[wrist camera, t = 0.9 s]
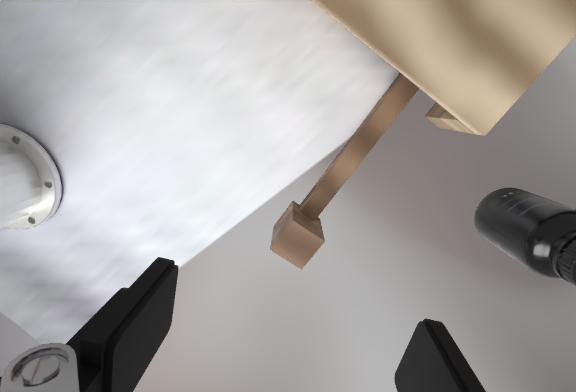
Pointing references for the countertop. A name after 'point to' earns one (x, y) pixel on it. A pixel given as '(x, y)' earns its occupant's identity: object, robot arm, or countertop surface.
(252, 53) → the countertop surface
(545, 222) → the supplement bottle
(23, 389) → the robot arm
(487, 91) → the low bench
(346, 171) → the crook
